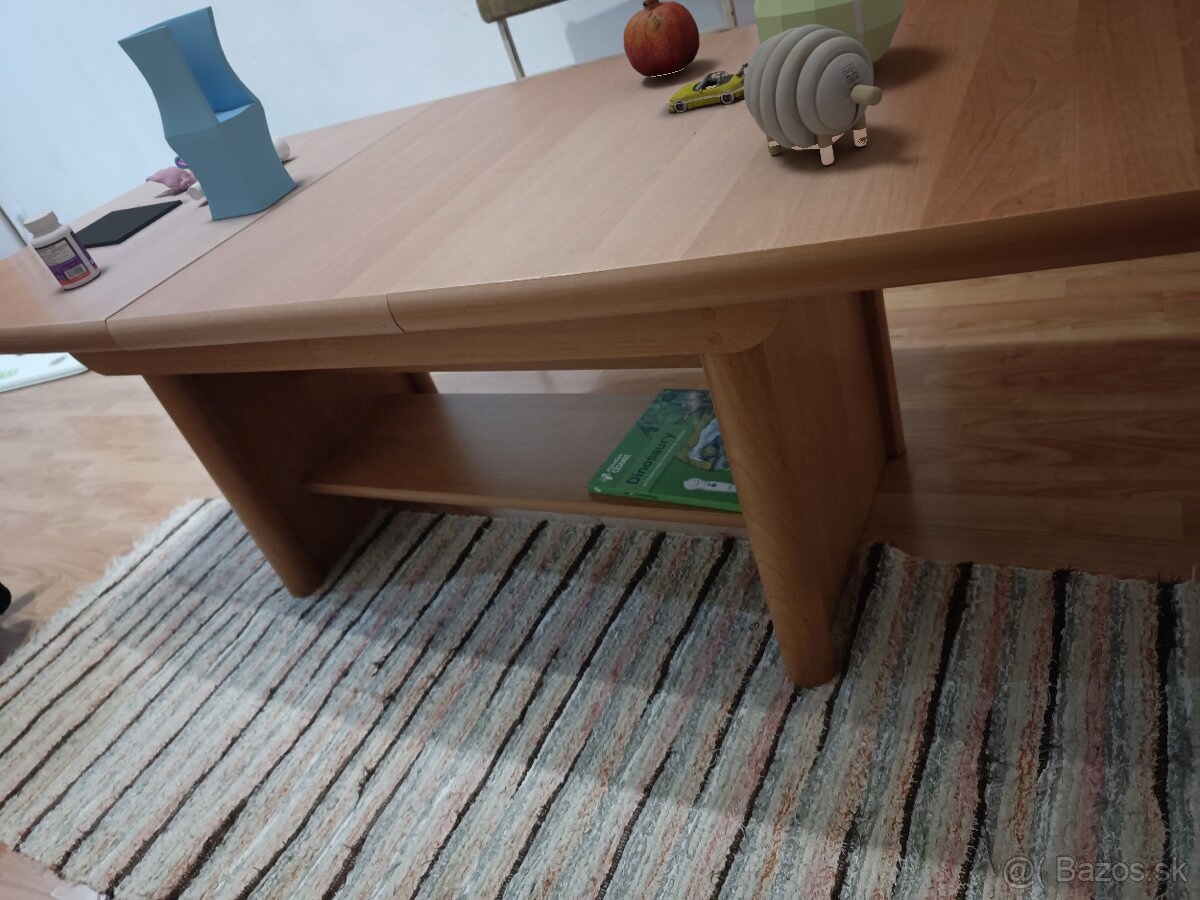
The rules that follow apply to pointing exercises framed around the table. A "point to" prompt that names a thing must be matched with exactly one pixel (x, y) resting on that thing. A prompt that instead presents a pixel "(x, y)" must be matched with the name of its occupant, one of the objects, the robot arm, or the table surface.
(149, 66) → the vase
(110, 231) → the mat
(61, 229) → the pill bottle
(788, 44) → the toy sheep
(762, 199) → the table surface
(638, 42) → the fruit
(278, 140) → the binoculars
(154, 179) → the pink figurine
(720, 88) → the toy car
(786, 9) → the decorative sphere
